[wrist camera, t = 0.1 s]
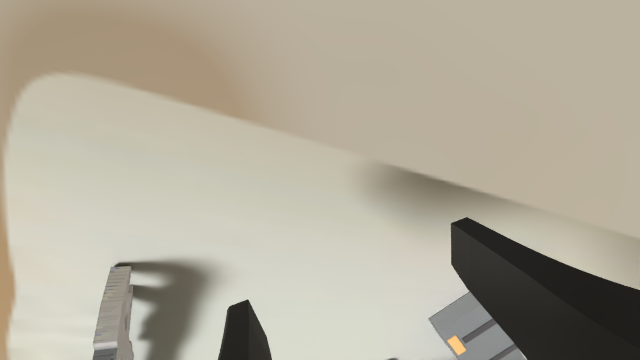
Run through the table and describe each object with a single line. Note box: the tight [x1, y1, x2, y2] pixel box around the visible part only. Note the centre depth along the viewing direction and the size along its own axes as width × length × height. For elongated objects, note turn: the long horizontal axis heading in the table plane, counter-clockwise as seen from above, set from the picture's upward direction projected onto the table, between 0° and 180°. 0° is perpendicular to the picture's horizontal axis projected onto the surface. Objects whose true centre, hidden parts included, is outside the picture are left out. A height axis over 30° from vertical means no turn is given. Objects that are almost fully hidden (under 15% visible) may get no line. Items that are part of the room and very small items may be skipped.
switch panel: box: [429, 292, 526, 360], centre depth 37 cm, size 20×10×2 cm, turn 32°
